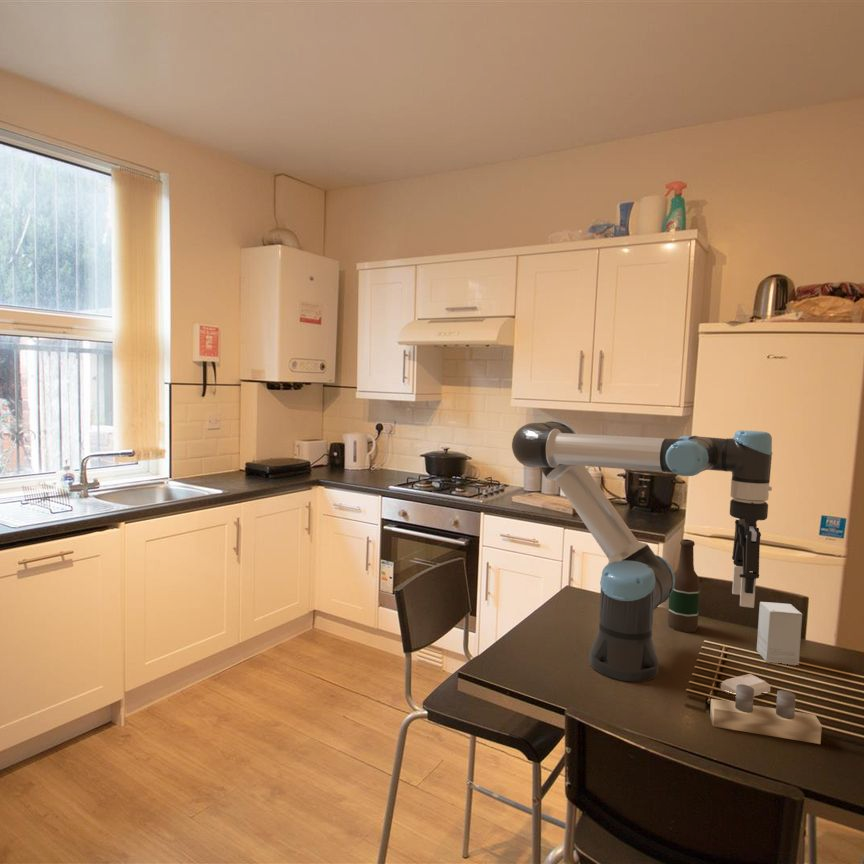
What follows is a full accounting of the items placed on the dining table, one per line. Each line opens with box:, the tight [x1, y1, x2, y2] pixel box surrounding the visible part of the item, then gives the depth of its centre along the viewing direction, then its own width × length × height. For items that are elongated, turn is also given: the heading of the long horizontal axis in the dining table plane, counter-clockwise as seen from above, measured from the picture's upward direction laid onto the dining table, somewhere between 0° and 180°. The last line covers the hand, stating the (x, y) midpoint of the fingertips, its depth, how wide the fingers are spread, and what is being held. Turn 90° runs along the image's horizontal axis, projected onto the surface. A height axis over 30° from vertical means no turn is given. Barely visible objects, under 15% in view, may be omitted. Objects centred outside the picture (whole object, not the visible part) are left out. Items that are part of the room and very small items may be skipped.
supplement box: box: [756, 601, 803, 666], centre depth 148 cm, size 7×7×13 cm
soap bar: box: [720, 673, 771, 698], centre depth 131 cm, size 5×9×3 cm, turn 114°
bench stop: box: [709, 684, 823, 745], centre depth 116 cm, size 18×4×8 cm, turn 74°
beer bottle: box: [667, 538, 701, 633], centre depth 166 cm, size 8×8×24 cm
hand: (742, 600), depth 138 cm, fingers open, 8 cm apart
